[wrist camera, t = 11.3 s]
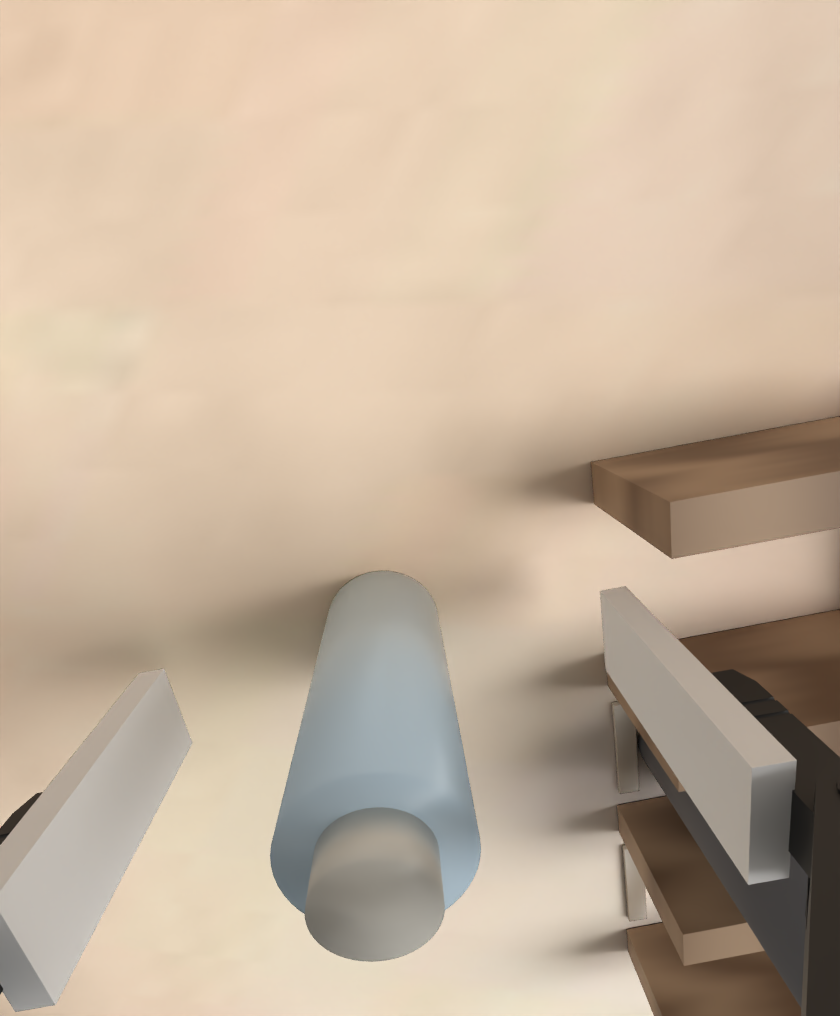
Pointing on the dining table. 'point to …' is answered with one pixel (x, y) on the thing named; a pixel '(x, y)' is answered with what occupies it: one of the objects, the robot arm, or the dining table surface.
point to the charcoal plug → (750, 887)
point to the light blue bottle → (377, 779)
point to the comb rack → (749, 650)
